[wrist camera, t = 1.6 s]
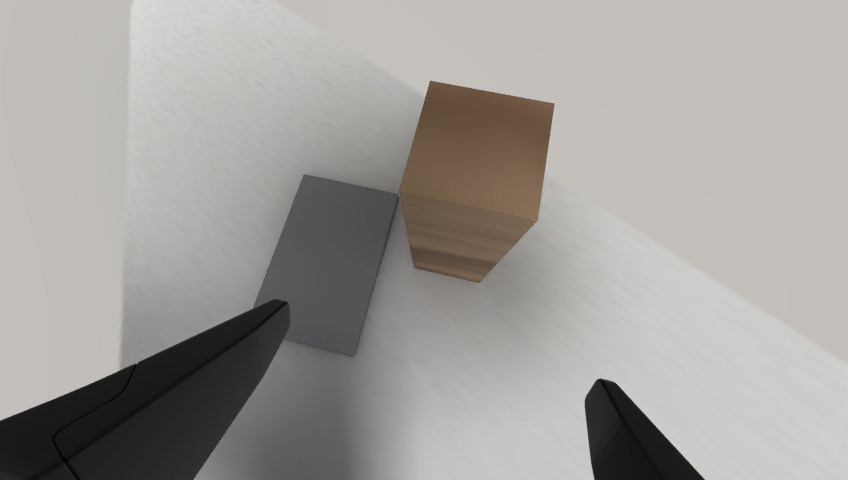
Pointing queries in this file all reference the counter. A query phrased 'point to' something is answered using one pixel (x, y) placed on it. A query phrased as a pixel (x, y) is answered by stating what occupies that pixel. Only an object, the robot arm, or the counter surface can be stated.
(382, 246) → the rubber mat
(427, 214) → the walnut block
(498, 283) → the counter surface
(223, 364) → the robot arm
